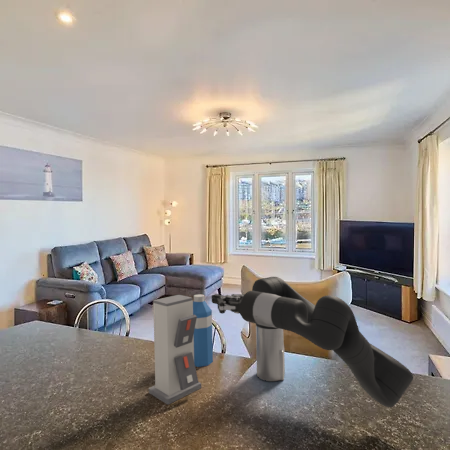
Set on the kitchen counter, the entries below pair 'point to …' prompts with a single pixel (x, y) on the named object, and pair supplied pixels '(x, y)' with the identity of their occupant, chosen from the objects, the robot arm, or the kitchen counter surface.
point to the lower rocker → (186, 370)
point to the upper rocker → (185, 330)
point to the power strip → (170, 347)
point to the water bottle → (202, 332)
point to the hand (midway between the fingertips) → (213, 298)
